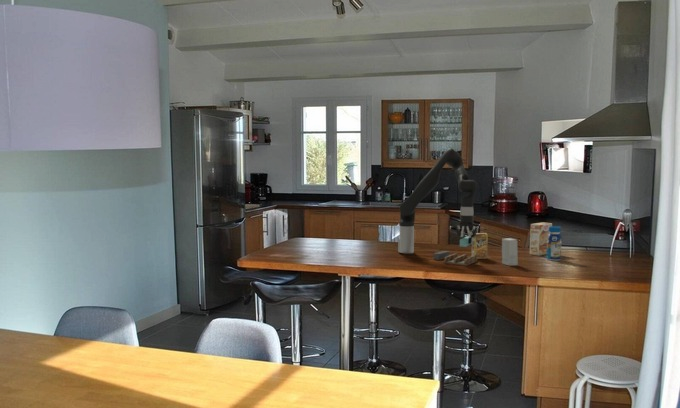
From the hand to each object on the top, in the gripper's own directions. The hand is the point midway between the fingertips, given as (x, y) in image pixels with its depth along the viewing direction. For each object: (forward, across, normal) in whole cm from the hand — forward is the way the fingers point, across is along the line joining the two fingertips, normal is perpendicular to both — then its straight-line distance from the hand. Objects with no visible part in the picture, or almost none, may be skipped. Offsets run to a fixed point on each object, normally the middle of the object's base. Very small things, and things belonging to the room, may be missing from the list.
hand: (466, 243), depth 344 cm
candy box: (+11, +2, +18) cm, 21 cm away
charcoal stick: (+11, -17, +5) cm, 21 cm away
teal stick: (+1, 0, 0) cm, 1 cm away
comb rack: (+11, -3, 0) cm, 12 cm away
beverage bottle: (+12, +41, +39) cm, 57 cm away
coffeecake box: (+12, +29, +56) cm, 64 cm away
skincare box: (+11, +23, +9) cm, 27 cm away
